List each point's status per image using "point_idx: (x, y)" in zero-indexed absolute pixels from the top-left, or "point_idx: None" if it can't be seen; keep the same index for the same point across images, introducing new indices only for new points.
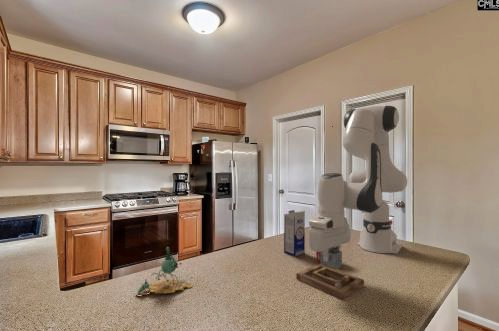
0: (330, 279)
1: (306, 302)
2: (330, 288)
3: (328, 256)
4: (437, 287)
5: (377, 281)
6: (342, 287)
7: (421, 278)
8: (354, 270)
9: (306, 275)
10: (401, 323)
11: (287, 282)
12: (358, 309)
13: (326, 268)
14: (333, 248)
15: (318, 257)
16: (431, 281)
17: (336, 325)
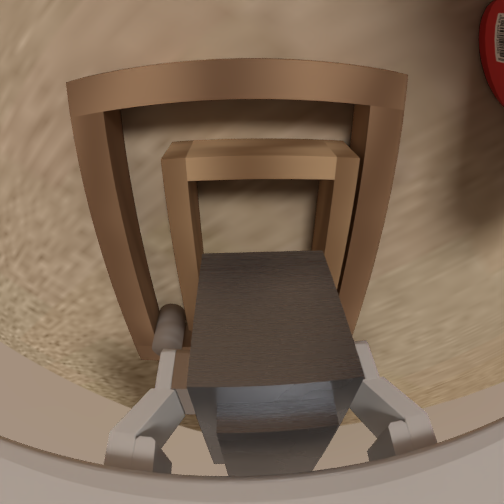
0: (188, 295)
1: (13, 277)
2: (126, 321)
3: (179, 414)
4: (445, 397)
5: (413, 336)
6: (183, 347)
7: (487, 367)
8: (483, 235)
9: (104, 152)
10: (196, 426)
11: (16, 93)
12: (151, 379)
13: (336, 183)
14: (283, 464)
15: (501, 19)
16: (475, 380)
17: (47, 367)
